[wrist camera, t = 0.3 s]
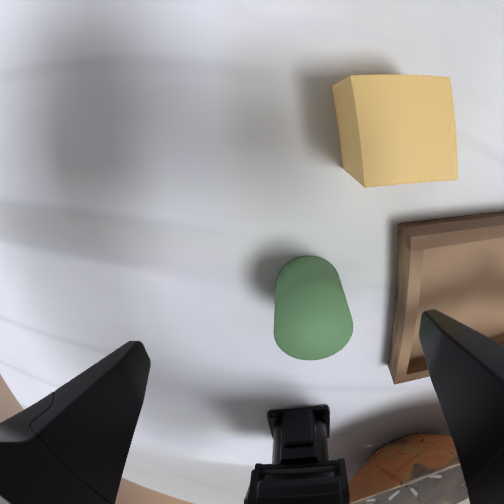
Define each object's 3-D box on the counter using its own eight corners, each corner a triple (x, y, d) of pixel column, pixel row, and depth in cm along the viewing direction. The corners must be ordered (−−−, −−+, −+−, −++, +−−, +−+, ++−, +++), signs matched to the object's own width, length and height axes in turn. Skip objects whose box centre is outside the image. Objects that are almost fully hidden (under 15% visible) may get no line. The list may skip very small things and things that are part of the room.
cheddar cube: (417, 162, 18) (457, 179, 13) (343, 168, 19) (364, 187, 14) (409, 83, 16) (449, 77, 11) (331, 86, 17) (350, 75, 12)
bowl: (513, 392, 28) (538, 442, 19) (423, 478, 38) (432, 520, 29) (375, 390, 28) (394, 473, 18) (298, 482, 38) (296, 535, 29)
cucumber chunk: (340, 307, 24) (352, 355, 19) (280, 314, 24) (278, 363, 19) (337, 252, 22) (353, 293, 17) (271, 260, 22) (268, 303, 17)
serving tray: (536, 323, 23) (546, 336, 21) (387, 365, 26) (394, 384, 24) (564, 205, 17) (579, 214, 15) (398, 223, 20) (411, 237, 18)
